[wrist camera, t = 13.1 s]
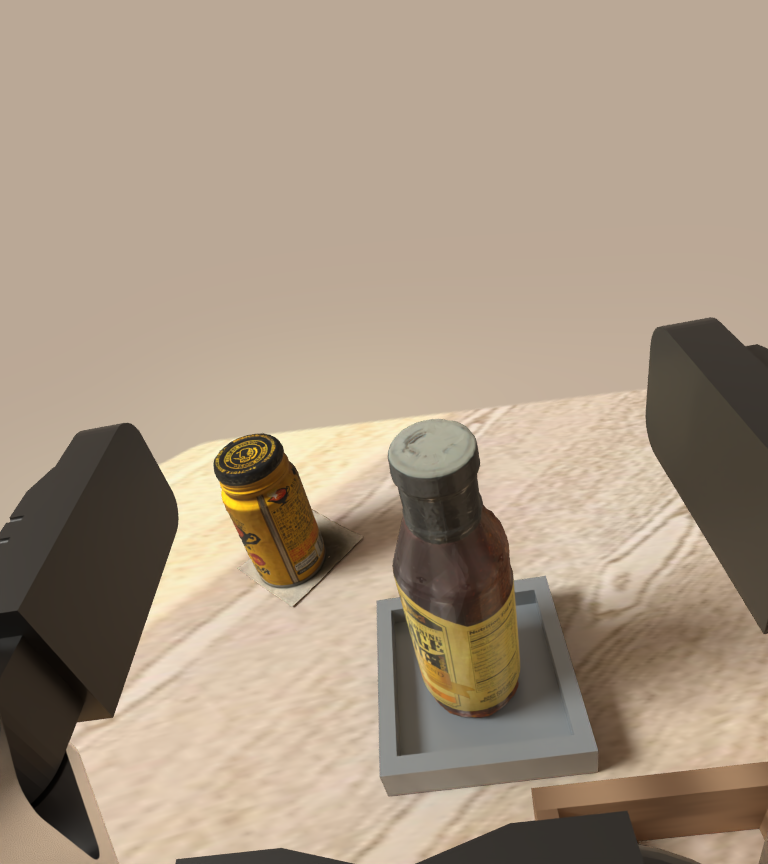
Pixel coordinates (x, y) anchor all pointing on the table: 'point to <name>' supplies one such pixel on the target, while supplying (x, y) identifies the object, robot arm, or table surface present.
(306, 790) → the table surface
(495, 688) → the sauce bottle
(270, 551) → the condiment
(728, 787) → the holder
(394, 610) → the tray
